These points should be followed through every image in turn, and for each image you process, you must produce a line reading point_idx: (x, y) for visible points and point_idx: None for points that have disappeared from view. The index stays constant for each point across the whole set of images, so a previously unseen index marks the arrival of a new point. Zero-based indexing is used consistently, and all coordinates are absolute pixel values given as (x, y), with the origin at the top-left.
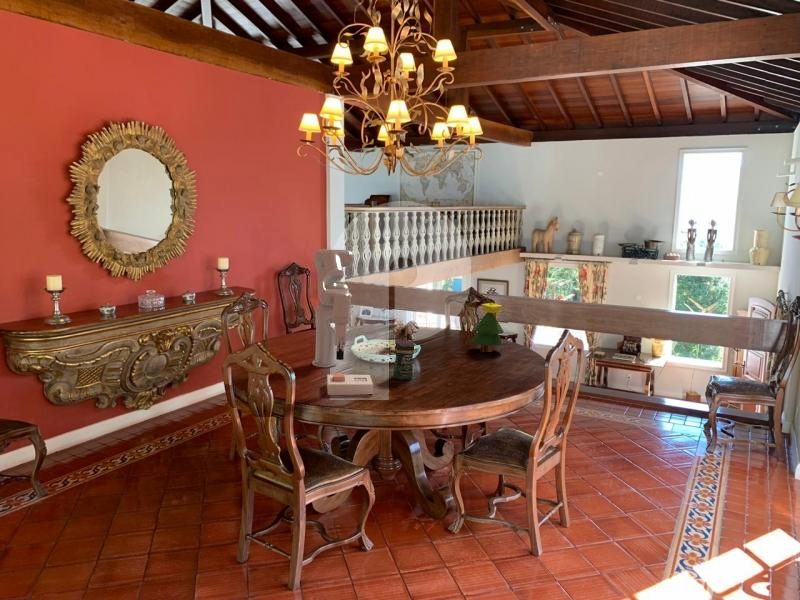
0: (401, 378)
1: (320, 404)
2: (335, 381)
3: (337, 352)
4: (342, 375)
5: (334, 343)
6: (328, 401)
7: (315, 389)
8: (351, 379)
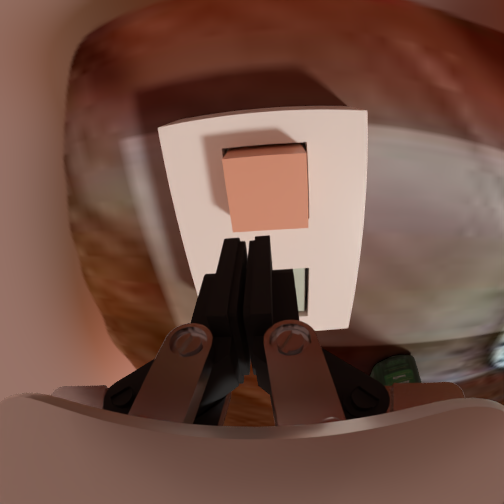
0: (371, 373)
1: (70, 114)
2: (221, 164)
3: (210, 310)
4: (263, 217)
5: (66, 434)
6: (103, 137)
7: (263, 46)
8: (273, 255)
